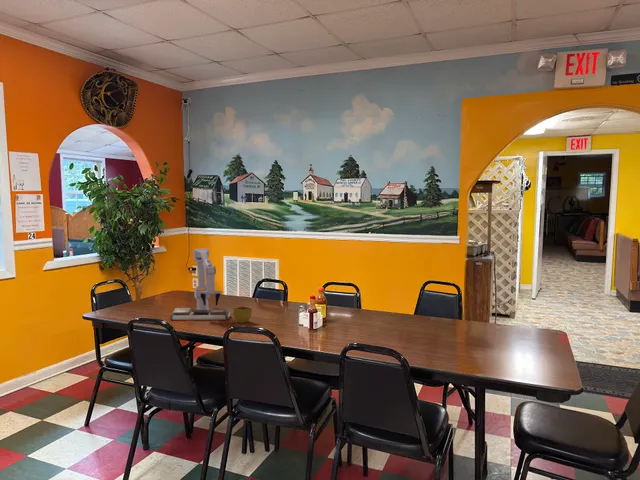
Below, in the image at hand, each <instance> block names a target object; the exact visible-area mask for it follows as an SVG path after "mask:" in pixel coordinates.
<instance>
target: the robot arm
mask: <svg viewBox="0 0 640 480" xmlns="http://www.w3.org/2000/svg"><path fill="white" fill-rule="evenodd" d="M192 254H193V261H194V262H196V268H197V269H196V270H197V286H195V288H194V292H193V293H194V295H193V296H194V298H195V299H196V310H209V311H211V309H210V308H209V300H208V299H209V298H210V296H211V295H214V296H215V297H214V298H215V306H218V303H219V299H220V296H221V295H222V294H223V292H222V290H216V286H215V285H216V274H217V268H216V265H213V262H212V261H211V259H209V257H210V249H209V248H208V247H207V248H194V250H193V251H192Z"/></svg>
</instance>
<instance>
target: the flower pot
mask: <svg viewBox="0 0 640 480" xmlns="http://www.w3.org/2000/svg"><path fill="white" fill-rule="evenodd" d="M232 310H233V316H234V317H233V318H234V319H235V320H236V322H237V323H241V324H244V323H248V322H249V321H250V319H251V317H252V311H253V308H252V307H250V306H245V305H243V306H237V307H233V308H232Z"/></svg>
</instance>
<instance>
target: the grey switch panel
mask: <svg viewBox="0 0 640 480" xmlns="http://www.w3.org/2000/svg"><path fill="white" fill-rule="evenodd" d="M169 315H170V316H169V320H170V321H209V320H210V321H211V320H212V321H214V320H218V321H219V320H225V321H226V320H229V318H230V316H231V311H230V310H229V311H228V310H227V312H226V314H210V311H209V312H201V313H194V312H192V311H190V312H189V314H173V312H172V313H171V314H169Z"/></svg>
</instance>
